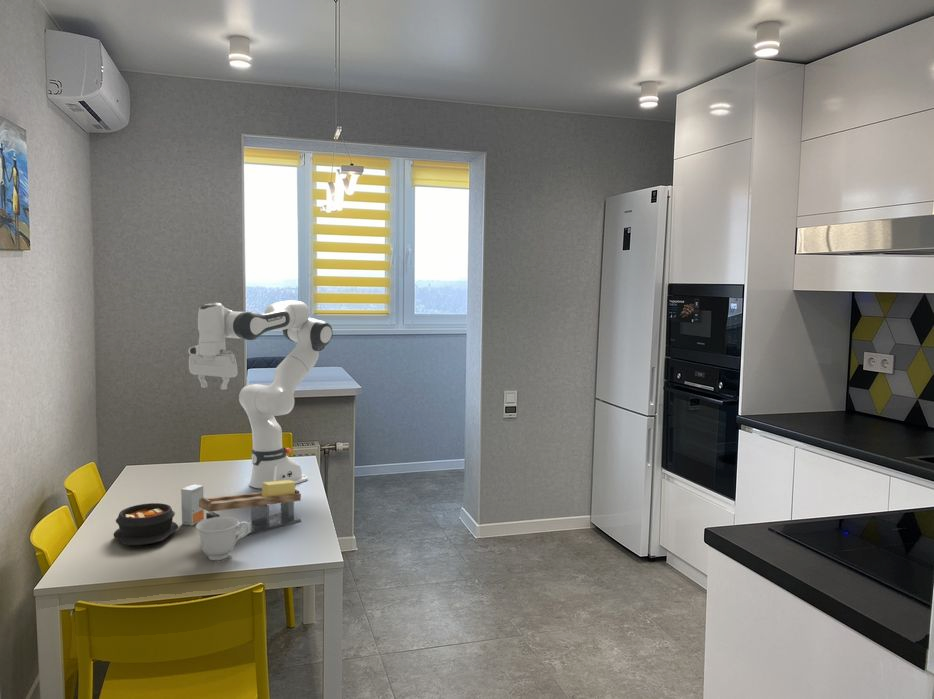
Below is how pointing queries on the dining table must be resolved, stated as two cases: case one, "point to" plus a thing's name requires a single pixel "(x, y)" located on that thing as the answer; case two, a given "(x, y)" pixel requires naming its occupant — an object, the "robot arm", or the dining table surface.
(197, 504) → the skincare box
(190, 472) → the dining table surface
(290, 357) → the robot arm
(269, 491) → the slider block
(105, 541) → the dining table surface
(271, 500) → the balance plank
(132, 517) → the casserole
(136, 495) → the dining table surface
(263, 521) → the fulcrum stand
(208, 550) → the teacup
